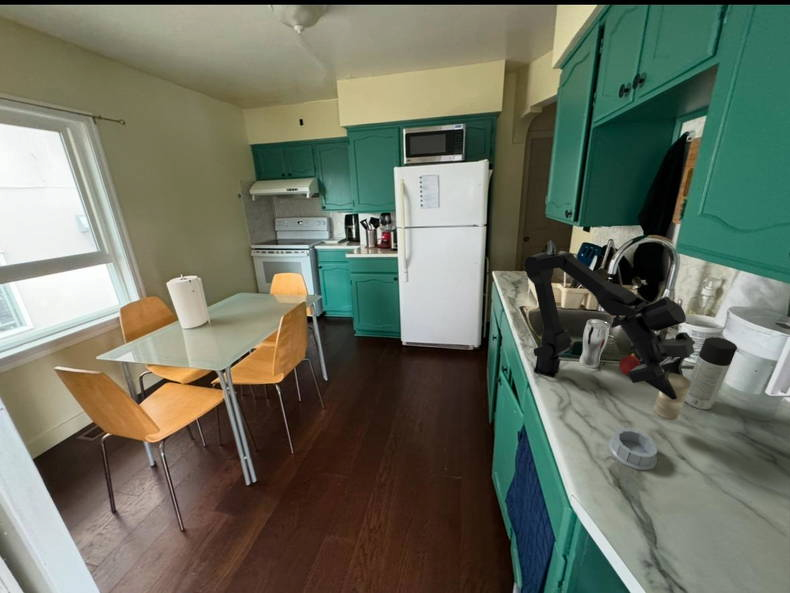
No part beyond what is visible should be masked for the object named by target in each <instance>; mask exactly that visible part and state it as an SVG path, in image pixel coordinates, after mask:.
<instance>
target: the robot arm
mask: <svg viewBox="0 0 790 593" xmlns="http://www.w3.org/2000/svg"><path fill="white" fill-rule="evenodd" d="M523 268H524V271H525V274H526V276H527V278H528V279H529V280H530V282H531V283H532V284H533V286H534V290H535V294H536V299H537V304H538V308H539V312H540V317H541V321H542V326H543V330H542V333H541V338H540V340H541V341H540V342H541V345H538V346H537V347H535V348H534V349H533V354H534V356H535V357H536V361H535V367H534V369H533V372H534V373H536V374H540V375H543V376H546V377H551V378H555V377H556V375H557V374H558V373H559V370H560V364H561V360H562V359H561V358H560V355H562V354H563V353H565V352H567V351H569V349H570V348H571V344H572V343H573V340H572V338H571V332H570V330H569V329H565V328H563V326H562V325H561V322H560V316H559V311H558V307H557V303H556V298H555V294H554V288H553V285H552V284H553V283H552V279H553V275H554V269H560V270H562V271H563V272H564V273H565V274H566V275H567V276H569V277H570V278H572V280H574V281H576V282H577V283H578V284H580V285H581V286H582V287H584V289H586V290H587V291H588V292H590V293H591V294H592V295H593V296H594V297H595V299H596V302H597V304H598V305H599V306H600V307H601V308H602V309H603V310H604V311H605V312H606V314H608V315H609V316H611V317H612V316H613V319H612V323H611V325H610V328H612V329H613V328H616V327H619V326H620V328H621V329H622V331H623V333H624V334H625V335H626V337H627V339H628V340H629V342H630V345H629V346H628V347H629V349H630V350H631V351H633V350H635V351H636V353H637V354H638V356H639V357H640V359H639V363H640V364H641V365H640V366H636V367H635V368H634V369H632V370H631V371H630V372H629V375H628V376H627V377H628V378H629V379H630V381H631V383H632V384H637V383H642V382H645V383H646V384H648V385H650V386H652V387H653V388H655V389H656V390H658V392H660V391H661V392H662V393H664V394H665V395H666V396H668V397H669V398H671V399H672V400H674V399H677V396H676V394H675V391H674V389H673V388H672V386H671V384H670V382H669V380H668V374H669V373H675V374H679V375H682V376H684V375H683V369H682V365H683V362H684V360H686V359H688V358H690V357H691V355H692V354H695V350H694V345H695V344H696V341H695V340H694V339H693V337H691V336H690V335H689V334H688V332H684V331H683V332H678V333H677V334H676V335H675V337H671V338H665V336H664V335H663V334H661V333H656V332H655V331H657V332H659V331H663V330H666V329H670V328H672V327H674V326H678V325H681V324H684V323H685V322H686V321H687V317H686V313H685V311H684V309H683V307H682V306H681V305H679V304H678V303H677V302H675V301H673V300H671V299H670V298H669V296H668V295H667V296H664V297H661V298H660V299H658V300H657V301H656V300H655V301H654V302H651V301H649V300H646V299H643V298H642V297H639V296H637V295H636V293H634V292H633V291H632V290H630V289H628V288H626V287H624V286H623V285H620V284H617V283H614V282H613V283H612V282H611V281H608V280H606V279H605V278H604V277H603V276H601V275H599V274H598V273H597V272H596V271H594V270H593V269H591V268H590V267H589V266H588V265H587V264H584V263H583V262H582V261H581V260H579V259H578V258H577V257H575V256H574V254H573V253H571V252H569V251H565V252H562V253H561V252H560V253H550V254H548V253H547V252H540V253H537V254H534V255H531V256H528V257H526V259H525V260H524V262H523Z"/></svg>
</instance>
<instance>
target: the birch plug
mask: <svg viewBox="0 0 790 593" xmlns="http://www.w3.org/2000/svg"><path fill="white" fill-rule="evenodd" d="M689 379H690V378H688V377H686V376H684V375H683V376H682V375H679V374H675V373H669V374H668V380H669V382H670V384H671V386H672V388H673V389H674V391H675V394H676V396H677V399H674V400H672V399H671V398H669V397H668V396H666V395H665V394H664V393H662V392H661V391H658V394H657V395H658V396H657V398H656V400H655V402H654V406H653V412H654V414H655V415H656V416H658V417H659V418H661V419H664V420H666V421H676V420H678V417H679V416H680V412H681V410H682V407H683V405H684V403H685V401H684V400H685V397H686V395H687V392H688V390H689V387H690V385H691V382H690V380H689Z"/></svg>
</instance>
